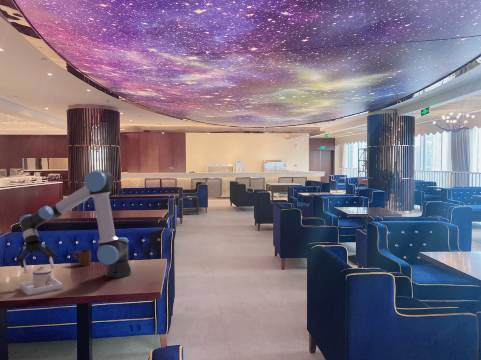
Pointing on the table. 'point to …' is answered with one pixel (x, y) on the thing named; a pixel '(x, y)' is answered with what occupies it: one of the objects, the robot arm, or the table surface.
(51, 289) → the tray
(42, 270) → the teacup with lid
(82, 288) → the table surface
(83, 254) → the mug
